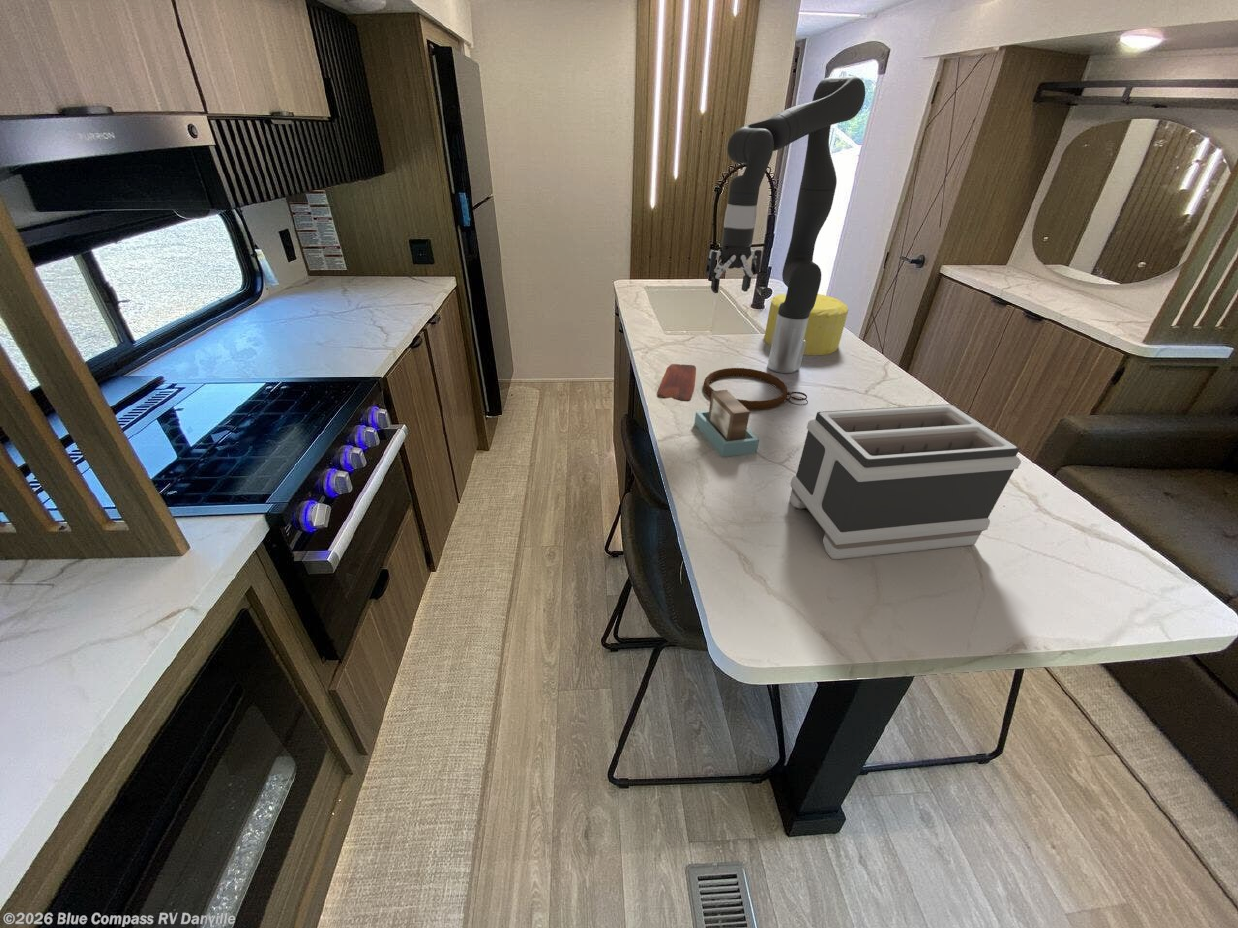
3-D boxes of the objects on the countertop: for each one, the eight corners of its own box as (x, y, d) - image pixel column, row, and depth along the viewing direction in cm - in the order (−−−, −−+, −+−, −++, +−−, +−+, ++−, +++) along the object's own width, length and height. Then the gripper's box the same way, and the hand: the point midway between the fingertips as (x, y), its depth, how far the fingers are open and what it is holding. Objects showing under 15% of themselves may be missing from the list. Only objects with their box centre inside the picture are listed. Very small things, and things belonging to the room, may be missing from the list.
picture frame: (707, 423, 131) (711, 391, 126) (721, 421, 132) (726, 389, 127) (728, 447, 121) (733, 413, 116) (743, 445, 122) (750, 411, 118)
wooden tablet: (690, 404, 144) (691, 398, 143) (655, 399, 146) (656, 394, 145) (699, 367, 166) (700, 363, 165) (668, 364, 167) (669, 359, 166)
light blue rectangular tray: (694, 423, 133) (695, 411, 131) (726, 419, 135) (728, 408, 133) (722, 457, 120) (724, 444, 118) (756, 452, 122) (759, 439, 120)
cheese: (771, 326, 201) (778, 287, 193) (841, 337, 193) (852, 296, 184) (757, 347, 181) (764, 304, 173) (834, 360, 173) (846, 316, 164)
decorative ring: (807, 413, 134) (695, 392, 143) (804, 422, 136) (694, 402, 144) (812, 378, 153) (713, 362, 162) (810, 387, 155) (712, 370, 163)
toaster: (997, 544, 97) (1052, 449, 85) (829, 562, 91) (863, 464, 80) (932, 487, 112) (971, 400, 100) (785, 500, 106) (808, 409, 95)
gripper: (757, 222, 131) (747, 286, 140) (706, 222, 128) (699, 289, 137) (772, 226, 125) (760, 294, 134) (719, 227, 122) (710, 297, 131)
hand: (729, 291), depth 135 cm, fingers open, 8 cm apart
